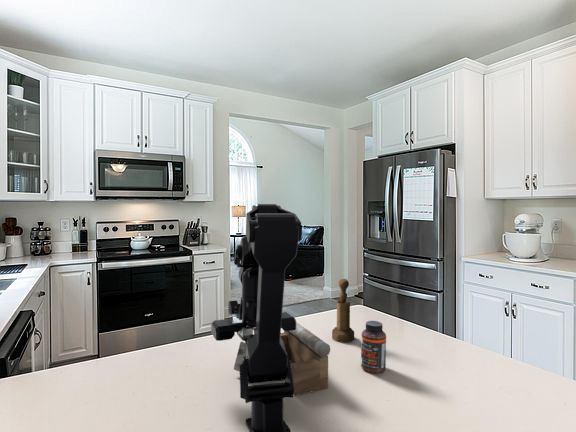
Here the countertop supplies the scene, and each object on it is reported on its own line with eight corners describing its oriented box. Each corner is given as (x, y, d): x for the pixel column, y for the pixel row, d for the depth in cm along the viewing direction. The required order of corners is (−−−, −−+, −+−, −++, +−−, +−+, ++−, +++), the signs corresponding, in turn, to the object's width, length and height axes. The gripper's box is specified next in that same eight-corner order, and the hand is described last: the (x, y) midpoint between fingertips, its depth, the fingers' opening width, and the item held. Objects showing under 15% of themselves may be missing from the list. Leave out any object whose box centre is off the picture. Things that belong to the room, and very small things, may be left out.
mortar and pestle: (330, 341, 105) (330, 280, 105) (333, 333, 112) (334, 276, 111) (352, 343, 103) (353, 281, 103) (355, 335, 110) (356, 277, 109)
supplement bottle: (357, 370, 86) (358, 324, 86) (364, 361, 92) (365, 317, 91) (382, 376, 84) (383, 328, 83) (388, 366, 89) (388, 321, 89)
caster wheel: (288, 373, 90) (277, 386, 80) (247, 359, 93) (232, 370, 83) (294, 347, 90) (284, 357, 81) (253, 333, 93) (239, 341, 84)
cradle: (330, 387, 78) (330, 342, 78) (294, 395, 75) (294, 348, 74) (292, 353, 96) (292, 316, 96) (262, 358, 93) (262, 320, 93)
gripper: (279, 284, 92) (279, 344, 93) (206, 290, 85) (206, 355, 85) (297, 294, 82) (297, 361, 82) (216, 301, 75) (216, 375, 75)
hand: (254, 362), depth 81 cm, fingers closed
